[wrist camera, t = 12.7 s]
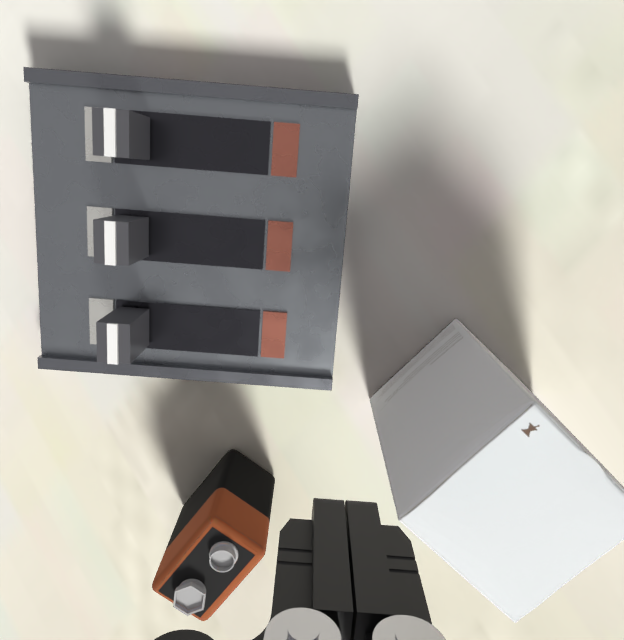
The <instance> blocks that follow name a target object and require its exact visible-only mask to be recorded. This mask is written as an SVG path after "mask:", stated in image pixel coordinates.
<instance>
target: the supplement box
mask: <svg viewBox="0 0 624 640" xmlns="http://www.w3.org/2000/svg"><path fill="white" fill-rule="evenodd" d="M370 403H371V407H372V411H373V416H374V420H375V424H376V428H377V432H378V436H379V441H380V445H381V449H382V453H383V457H384V461H385V466H386V470H387V474H388V478H389V482H390V487H391V491H392V495H393V499H394V503H395V507H396V511H397V516H398V520H399V521H400V522H401V523H403V524H404V525H405V526H406V527H407V528H408V529H409V530H410V531H411V532H413V533H414V534H415V535H416V536H417V537H418V538H419V539H420V540H422V541H423V542H424V543H425V544H426V545H427V546H428V547H430V548H431V549H432V550H433V551H434V552H435V553H436V554H437V555H439V556H440V557H441V558H442V559H443V560H444V561H445V562H447V563H448V564H449V565H450V566H451V567H452V568H453V569H454V570H456V571H457V572H458V573H459V574H460V575H461V576H462V577H463V578H465V579H466V580H467V581H468V582H469V583H470V584H471V585H472V586H474V587H475V588H476V589H477V590H478V591H479V592H480V593H481V594H483V595H484V596H485V597H486V598H487V599H488V600H489V601H491V602H492V603H493V604H494V605H495V606H496V607H497V608H499V609H500V610H501V611H502V612H503V613H504V614H505V615H507V616H508V617H509V618H510V619H511V620H512V621H513V622H517V621H519V620H520V619H521V618H522V617H523V616H525V615H526V614H528V613H529V612H530V611H532V610H533V609H535V608H536V607H537V606H538V605H540V604H541V603H542V602H543V601H545V600H546V599H547V598H548V597H550V596H551V595H552V594H553V593H555V592H556V591H557V590H558V589H559V588H561V587H562V586H563V585H564V584H566V583H567V582H568V581H570V580H571V579H572V578H574V577H575V576H576V575H578V574H579V573H580V572H581V571H583V570H584V569H585V568H587V567H588V566H589V565H591V564H592V563H593V562H595V561H596V560H597V559H599V558H600V557H601V556H603V555H604V554H606V553H607V552H608V551H610V550H611V549H612V548H614V547H615V546H616V545H618V544H619V543H620V542H622V541H623V540H624V487H623V486H622V485H621V484H620V483H619V482H618V481H617V480H616V479H615V478H614V476H613V475H612V474H611V473H610V472H609V471H608V470H607V469H606V468H605V467H604V466H603V465H602V464H601V463H600V462H599V461H598V460H597V459H596V458H595V457H594V456H593V455H592V454H591V453H590V452H589V450H588V449H587V448H586V447H585V446H584V445H583V444H582V443H581V442H580V441H579V440H578V439H577V438H576V437H575V436H574V435H573V434H572V433H571V432H570V431H569V430H568V429H567V428H566V427H565V426H564V425H563V424H562V423H561V422H560V421H559V420H558V419H557V417H556V416H555V415H554V414H553V413H552V412H551V411H550V410H549V409H548V408H547V407H546V406H545V405H544V404H543V403H542V402H541V401H540V400H539V399H538V398H537V397H536V396H535V395H534V394H533V393H532V392H531V391H530V390H529V389H528V388H527V387H526V386H525V385H524V384H523V383H522V382H521V381H520V380H519V379H518V378H517V377H516V376H515V375H514V374H513V373H512V372H511V371H510V370H509V369H508V368H507V367H506V366H505V365H504V364H503V363H502V362H501V361H500V360H499V359H498V358H497V357H496V356H495V355H494V354H493V353H492V352H491V351H490V350H489V349H488V348H487V347H486V346H485V345H483V344H482V343H481V342H480V341H479V340H478V339H477V338H476V337H475V336H474V335H473V334H472V333H471V332H470V331H469V330H468V329H467V328H466V327H465V326H464V325H463V324H462V323H461V322H460V321H459V320H458V319H454V320H453V321H452V322H451V323H450V324H449V325H448V326H447V327H446V328H445V329H443V330H442V331H441V332H440V333H439V334H438V335H437V336H436V337H435V338H434V339H433V340H432V341H431V342H430V343H429V344H428V345H426V346H425V347H424V348H423V349H422V350H421V351H420V352H419V353H418V354H417V355H416V356H415V357H414V358H412V359H411V360H410V361H409V362H408V363H407V364H406V365H405V366H404V367H403V368H402V369H401V370H400V371H398V372H397V373H396V374H395V375H394V376H393V377H392V378H391V379H390V380H389V381H388V382H387V383H386V384H385V385H383V386H382V387H381V388H380V389H379V390H378V391H377V392H376V393H375V394H374V395H373V396H372V397H371V398H370Z"/></svg>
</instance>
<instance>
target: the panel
mask: <svg viewBox="0 0 624 640" xmlns="http://www.w3.org/2000/svg"><path fill="white" fill-rule="evenodd" d="M24 82H27V83H29V89H30V111H31V132H32V154H33V175H34V197H35V219H36V240H37V262H38V284H39V305H40V327H41V348H42V355H41V356H39V357H38V369H50V370H63V371H77V372H90V373H104V374H117V375H130V376H144V377H157V378H170V379H184V380H197V381H211V382H224V383H237V384H251V385H264V386H278V387H291V388H304V389H318V390H331V391H332V380H333V379H332V374H333V363H334V352H335V341H336V330H337V319H338V308H339V297H340V286H341V276H342V265H343V254H344V243H345V232H346V221H347V210H348V199H349V188H350V177H351V166H352V155H353V144H354V133H355V123H356V112H357V107H358V96H359V94H347V93H334V92H322V91H310V90H298V89H285V88H273V87H261V86H249V85H236V84H224V83H212V82H200V81H187V80H175V79H163V78H151V77H139V76H126V75H114V74H102V73H90V72H77V71H65V70H53V69H41V68H28V67H24ZM92 107H97V108H113V109H122V110H130V111H133V112H136V113H139V114H142V115H145V116H147V117H150V160H143V159H131V158H118V157H106V156H95V155H93V144H92ZM113 215H128V216H141V217H149V256H148V257H146V258H144V259H142V260H140V261H138V262H136V263H134V264H132V265H130V266H122V265H116V266H113V265H105V264H96V263H94V244H93V219H98V218H103V217H108V216H113ZM118 307H131V308H144V309H149V346H148V347H147V348H146V349H145V350H144V351H143V352H142V353H141V354H140V355H139V356H138V357H137V358H136V359H135V360H134V361H133V362H132V363H131V364H118V365H116V364H107V363H105V362H97V340H96V322H97V321H98V320H100V319H101V318H103V317H104V316H106V315H107V314H109V313H110V312H112V311H113V310H115V309H116V308H118Z"/></svg>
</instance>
